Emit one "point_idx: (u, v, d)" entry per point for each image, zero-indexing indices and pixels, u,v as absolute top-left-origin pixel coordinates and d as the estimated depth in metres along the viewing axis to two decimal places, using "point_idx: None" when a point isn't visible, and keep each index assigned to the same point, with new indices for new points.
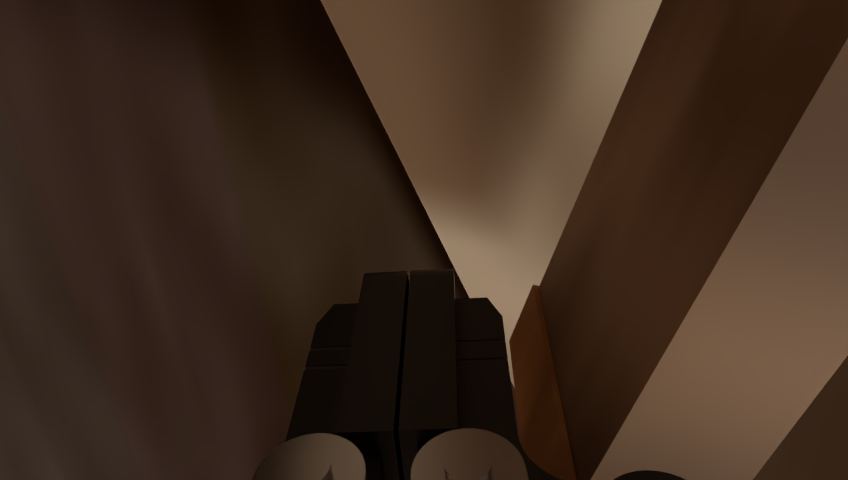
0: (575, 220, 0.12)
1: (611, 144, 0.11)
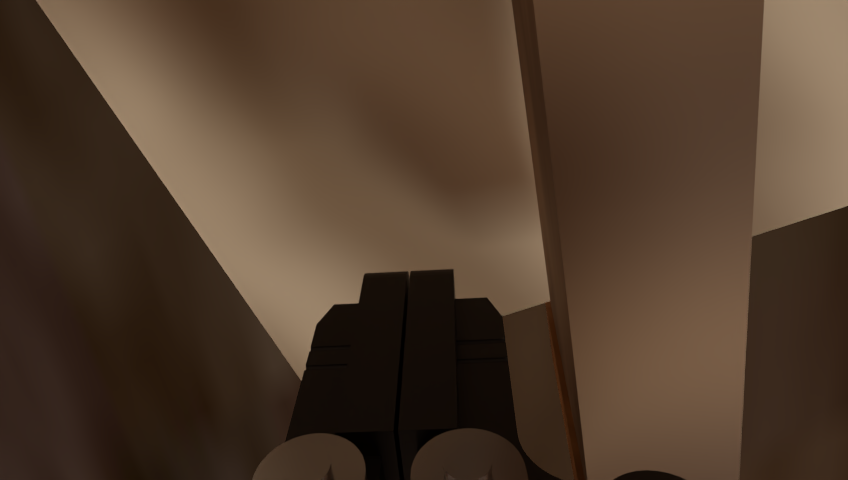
0: (543, 239, 0.13)
1: (533, 166, 0.12)
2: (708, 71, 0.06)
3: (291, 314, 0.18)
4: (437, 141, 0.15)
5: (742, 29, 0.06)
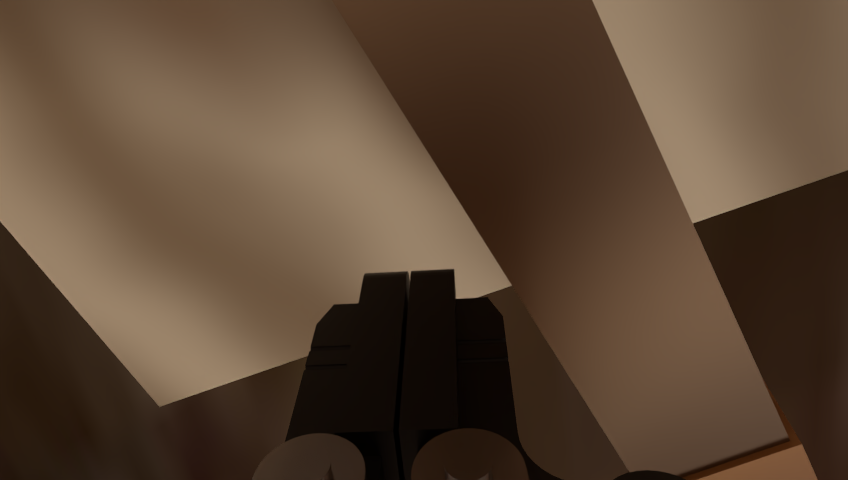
0: None
1: None
2: (548, 35, 0.06)
3: (140, 343, 0.18)
4: (258, 177, 0.16)
5: None
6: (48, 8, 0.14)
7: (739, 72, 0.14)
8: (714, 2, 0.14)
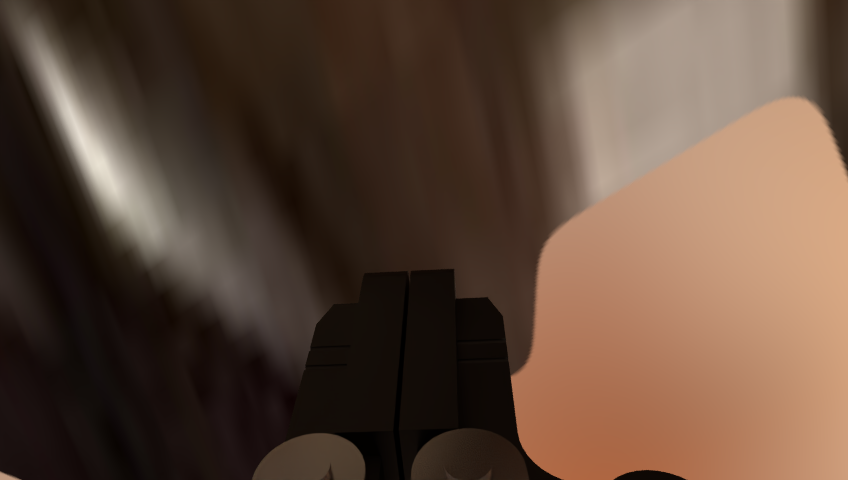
0: None
1: None
2: None
3: None
4: None
5: None
6: None
7: None
8: None
